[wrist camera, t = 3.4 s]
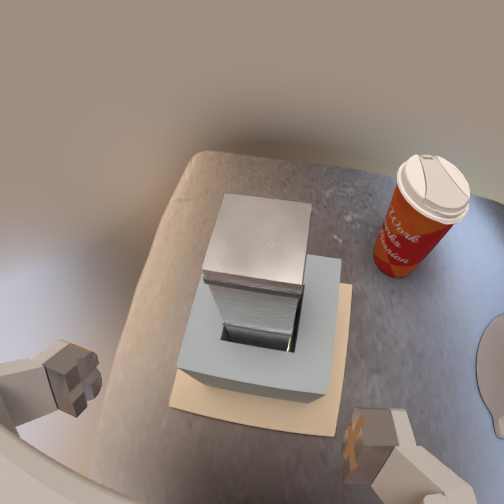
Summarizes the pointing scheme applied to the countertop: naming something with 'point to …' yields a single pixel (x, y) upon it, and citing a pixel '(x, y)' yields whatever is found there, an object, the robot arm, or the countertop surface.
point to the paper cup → (420, 213)
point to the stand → (270, 361)
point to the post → (258, 267)
